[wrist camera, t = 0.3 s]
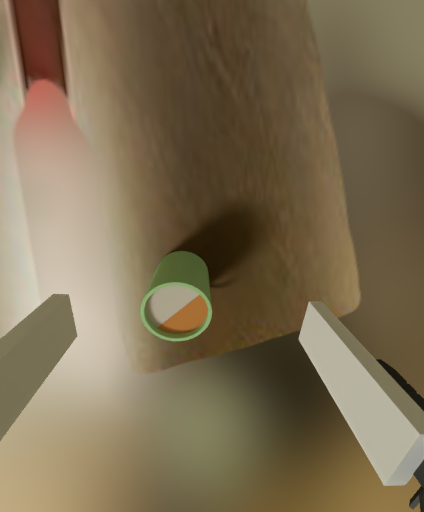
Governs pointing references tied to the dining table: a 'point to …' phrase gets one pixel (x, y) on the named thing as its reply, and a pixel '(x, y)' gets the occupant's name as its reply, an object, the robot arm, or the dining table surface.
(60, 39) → the dining table surface
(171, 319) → the mug
